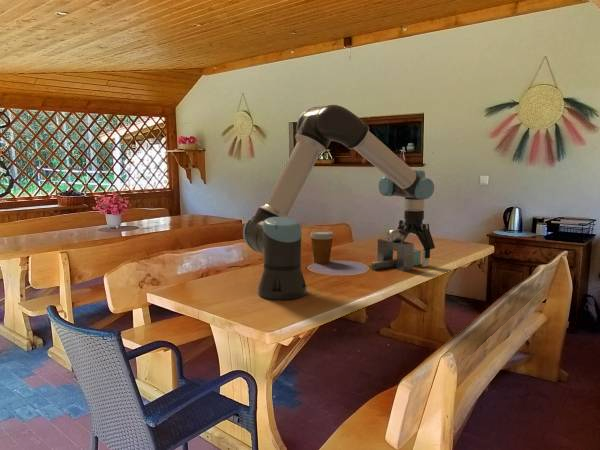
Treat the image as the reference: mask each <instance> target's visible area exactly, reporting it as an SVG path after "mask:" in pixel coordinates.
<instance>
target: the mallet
mask: <svg viewBox="0 0 600 450" xmlns="http://www.w3.org/2000/svg"><path fill="white" fill-rule="evenodd" d="M421 256H422V251H421V250H420V249H414V252H413V267H414V266H419V265H421V264H422V262H421ZM395 267H396V268H397V258H395V259H394V258H393V260H388V261H381V262H377V261H376V262H372V263H371V264H370V269H371V270H372V271H379V270H384V269H390V268H395Z"/></svg>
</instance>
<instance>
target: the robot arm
mask: <svg viewBox="0 0 600 450" xmlns="http://www.w3.org/2000/svg"><path fill="white" fill-rule="evenodd" d="M296 128H297V132H296V134H295V137H294V138H295V140H296V143H295V146H294V148H293V149H292V151H291V154H290V156H289V157H288V160H287V161H286V164H285V165H284V167H283V170H281V173H280V175H279V177H278V179H277V181H276V183H275V184H274V187H273V189H272V191H271V193H270V194H269V197H268V199H267V200H266V202H265V204H264V205H261V206H259V207H258V209H257V211H256V213H255V214H254V215H253V216H251V217H250V218H249V219H246V220H247V221H246V222H245V223H244V226H243V230H242V236H243V237H242V238H243V240H244V242H245V243H246V245H247V247H250V248H251V250H253V251H254V252H257V253H259V254H260V253H261V254H262V255H263V271H262V275H261V277H260V280H259V283H258V296H259V297H262V298H264V299H269V300H277V301H288V300H296V299H300V298H302V297H305V296H306V295H307V293H308V292H307V284H306V280H305V278H304V274H303V271H302V236H303V235H302V234H303V233H302V227H301V223H300V222H299V221H298V220H296V219H294V218H292V217H290V216H289V215H290V213H291V212H292V210H293V208H294V205H295V204H296V201H297V199H298V197H299V195H300V194H301V191H302V189H303V188H304V186H305V184H306V182H307V179H308V177H309V175H310V173H311V172H312V169H313V168H314V166H315V164H316V162H317V160H318V157H319V156H320V154H324V153H326V152H327V150H328V147H329V146H330V144H331V142H336V143H339V144H341V145H343V146H344V147H346V148H347V149H349V150H352V149H353V150H355V152H357V154H360V155H361V156H362V157H363V158H364V159H365V160H366V161H368V162H369V163H370V164H372V166H374V167H375V168H376V169H377V170H378V171H380V172H381V173H382V174H383V175H384V176H382V177H380V179H379V180H378V191H379V193H380V195H382V196H383V197H401V198H404V212H403V213H404V215H403V219H400V220H399V221H398V227H397V229H396V230H398V229H401V230H403V232H404V239H403V240H402V241H404V242H405V239H406V238H407V237H408V235H410V234H414V235H415V236H416V237H417V238H418V240H419V241H420V244H421V246H422V247H423V249H422V254H421V256H422V262H421V266H422V267H423V268H424V267H429V266H430V264H429V262H430V261H429V260H430V258H431V250H435V248H436V246H435V242H434V239H433V237H432V233H431V230H430V224H429V223H423V221H424V219H425V211H424V210H425V200H428V199H430V198H431V197H432V196H433V194H434V192H435V184H434V182H433V180H432V179H431V178H428V177H426V173H425V171H424V170H422V169H413V168H411V167H410V166H409V165H408V164H407V163H406V162H404V161H403V160H402V159H401V158H400V157H399V156H398V155H397V154H395V153H394V152H393V151H392V150H391V149H390V148H389V147H388V146H387V145H385V144H384V143H383V141H381V140H380V139H379V138H378V137H376V136H375V135H374V134H373V132H370V130H369V129H370V128H369V125H368V124H366V123H365V121H363V120H362V119H361V118H360V117H358V116H357V115H356V114H355V113H353V112H352V111H351V110H349V109H348V108H346V107H343V106H341V105H338V104H329V105H323V106H314V107H310V108H308V109H306V110H304V111H303V112H302V113H301V114H300V115H299V117H298V119H297V123H296Z"/></svg>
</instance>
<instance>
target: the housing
mask: <svg viewBox="0 0 600 450" xmlns="http://www.w3.org/2000/svg"><path fill="white" fill-rule="evenodd" d="M397 229H398V228H397ZM397 229H391V230H388V231H387V232H386V237H382V238H378V239H377V251H376V252H377V255H376V256H377V257H376V258H377V259H376V262H381V261H388V260H394V252H396V259H397V266H396V270H398V271H401V272H407V271H413V270H414V266H413V252H414V248H415V246H414V245H415V243H413V242H409V241H405V240H404V241H402V240H403V239H404V232H403V230H401V229H398V230H397Z"/></svg>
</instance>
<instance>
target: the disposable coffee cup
mask: <svg viewBox="0 0 600 450" xmlns="http://www.w3.org/2000/svg"><path fill="white" fill-rule="evenodd" d="M309 237H310V238H311V247H312V254H313V256H312V257H313V262H314V263H316V264H328V263H330V261H331V260H330V259H331V253H332V245H333V239H334V237H335V236H334V232H333V231H330V230H329V231H328V230H312V231H311V233H310V235H309ZM327 262H328V263H327Z"/></svg>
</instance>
